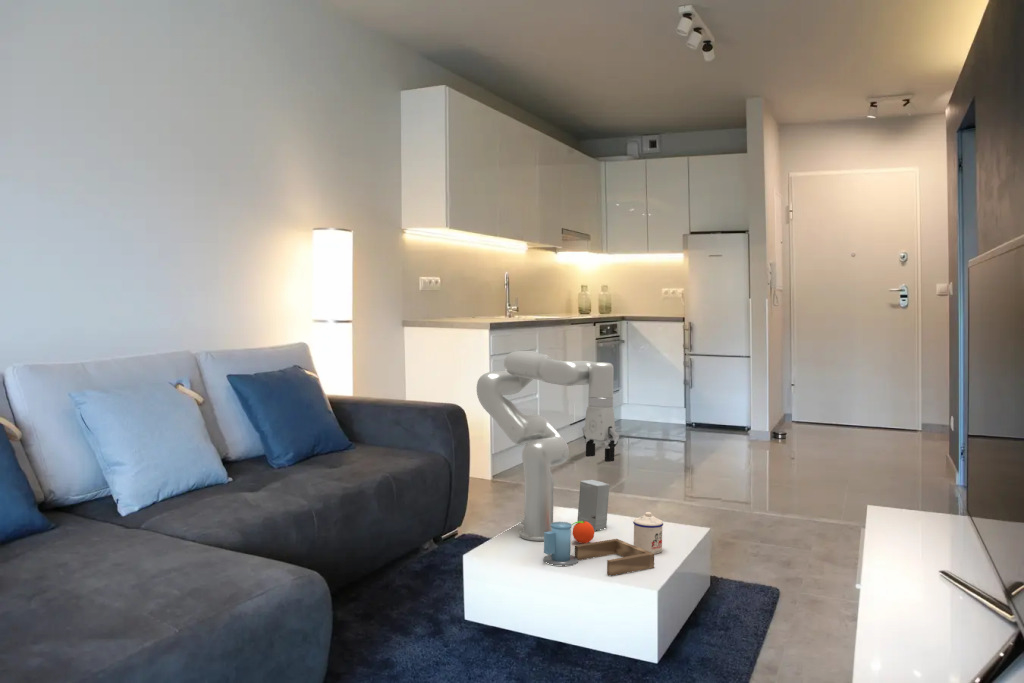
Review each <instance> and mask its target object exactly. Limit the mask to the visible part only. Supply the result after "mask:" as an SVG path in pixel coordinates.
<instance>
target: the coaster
mask: <svg viewBox="0 0 1024 683" xmlns="http://www.w3.org/2000/svg"><path fill="white" fill-rule="evenodd" d="M544 561H545V562H547V563H549V564H553V565H562V566H561V567H566V566H565V565H572V566H574V565H573V564H575V565H577V564H578V562H579V560H578V558H576V557H575V555H572V554H571V556H570V560H569V561H565V562H558V561H554V560H552V559H551V554H549V555H547V554H546V555H545V556H543V562H544ZM545 562H544V563H545ZM547 563H546V564H547ZM576 563H577V564H576ZM549 564H548V565H549ZM553 565H552V566H553Z"/></svg>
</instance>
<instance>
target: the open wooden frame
mask: <svg viewBox="0 0 1024 683" xmlns="http://www.w3.org/2000/svg"><path fill="white" fill-rule="evenodd" d="M611 555H617V556H619V557H617V558H611V559H607V560H606V575H607V574H608V575H607V576H609V575H614V576H617V575H616V574H619V575H622V574H621V573H625V574H628V573H627V572H630V573H633V572H632V571H635V572H639V571H638V570H640V571H644V569H645V570H650V569H655V554H654V553H651V552H649V551H646V550H644V549H641V548H639V547H636V546H634V544H631V543H629V542H626V541H623V540H622V539H619V538H612V539H607V540H602V541H601V540H600V541H594V542H589V543H585V544H582V543H580V544H576V545H574V556H575V557H576V558H578V561H581V560H582V559H583V560H588V559H587V558H589V559H594V558H593V557H595V558H600V557H606V556H611ZM583 560H582V561H583Z"/></svg>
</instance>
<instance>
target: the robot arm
mask: <svg viewBox="0 0 1024 683" xmlns="http://www.w3.org/2000/svg"><path fill="white" fill-rule="evenodd" d="M503 367H504V369H505V370H494V371H488V372H485V373H483V374H482V375H481V376H480V377H479V378H478V380H477V383H476V396H477V398H478V402H479V403H480V405H481V407H482V408H483V410H485V412H486V413H487V414H488V415H489V416H491V417H492V419H493V420H494V421H495V422H496V424H497V425H498V426H499V427H500V428H501V430H502V431H503V432H504V434H505V435H506V436H507V437H508V438H509V440H510V441H511V442H513V444H515V445H518V446H519V445H524V447H523V448H522V452H521V460H522V466H523V475H524V504H523V505H524V507H523V508H524V510H523V511H524V512H523V516H524V517H523V519H521V520H520V524H521V525H523V528H522V529H520V530H519V532H518V536H519V538H522V539H523V540H528V541H535V542H544V532H550V531H552V527H551V523H553V522H554V497H555V494H554V493H555V492H554V490H555V486H554V485H555V484H554V477H553V474H552V471H551V468H552V467H555V466H560V465H562V464H565V463H566V462H567V460H568V459H569V455H570V449H569V448H570V447H569V445H568V444H567V442H566V440H565V439H564V438H563V436H562V435H561V434H560V432H559V431H558V430H557V429H556V428H555V427H554V426H553V425H552V424H551V423H550V422H549V420H548V419H546V418H545V417H544V416H542V415H539V414H523V413H522V411H520V409H519V408H517V406H516V405H515V403H514V402H512V401H511V400H509V399H508V398H507V397H505V396H510V395H511V396H512V395H515V394H516V395H517V394H518V393H520V392H521V391H523V389H525V388H526V387H527V386H528V385H529V384H530V383H531V382H532V381H533V380H538V381H542V382H545V383H548V384H551V385H552V384H553V385H558V386H565V387H573V386H582V385H583V386H585V385H588V396H587V397H588V401H587V402H588V403H587V404H588V405H587V407H586V410H585V415H584V416H585V417H584V427H582V429H581V430H582V434H583V438H584V444H585V456H586V457H587V458H588V457H595V456H596V443H595V442H603V443H604V445H605V447H606V448H604V461H605V462H606V463H610V462H614V461H615V449H616V448H617V445H618V443H619V438H620V434H619V433H618V432H617V431H616V422H615V413H614V375H615V374H614V372H615V371H614V364H612V363H611V362H601V361H600V362H598V361H597V362H595V361H590V360H573V361H572V360H570V361H566V360H565V361H564V360H558V359H553V358H552V357H551V355H548V354H545V353H539V352H537V351H534V350H514V351H512V352H510V353H508V354H507V355H506V356H505V358H504V360H503Z"/></svg>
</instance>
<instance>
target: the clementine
mask: <svg viewBox="0 0 1024 683" xmlns="http://www.w3.org/2000/svg"><path fill="white" fill-rule="evenodd" d="M571 524H572V526H573V527H572V536H573V538H574V540H575V541H576V542H577V543H579V544H587V543H591V541H592V540H593V538H594V537H595V531H594V528H593V526H592V525H591V524H590V523H589V522H586V521H578V522H577V521H575V522H574V523H571Z"/></svg>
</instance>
